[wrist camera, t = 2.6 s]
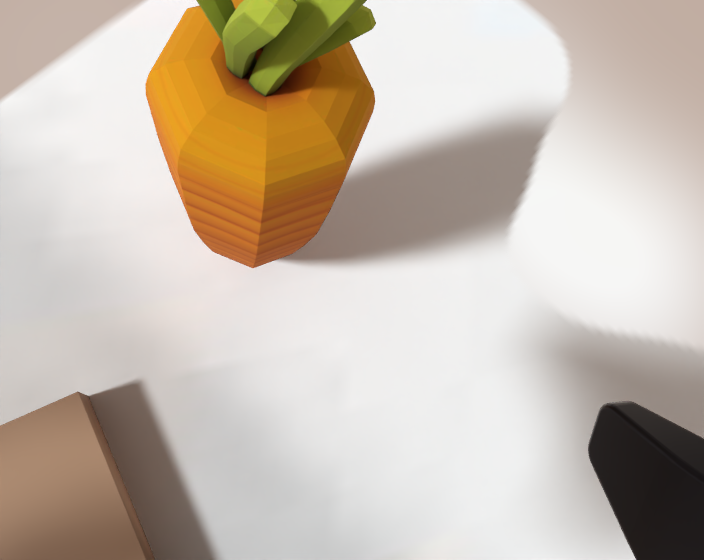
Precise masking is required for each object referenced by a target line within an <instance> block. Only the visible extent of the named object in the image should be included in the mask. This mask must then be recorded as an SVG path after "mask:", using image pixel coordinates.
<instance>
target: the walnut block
mask: <svg viewBox="0 0 704 560" xmlns="http://www.w3.org/2000/svg"><path fill="white" fill-rule="evenodd" d="M0 560H155V558H154V556H153V553H152V551H151V548H150V546H149V544H148V541H147V539H146V536H145V534H144V531H143V529H142V526H141V524H140V522H139V519H138V517H137V514H136V512H135V509H134V507H133V504H132V502H131V500H130V497H129V495H128V492H127V490H126V487H125V485H124V482H123V480H122V478H121V475H120V473H119V470H118V468H117V465H116V463H115V460H114V458H113V456H112V453H111V451H110V448H109V446H108V443H107V441H106V438H105V436H104V434H103V431H102V429H101V426H100V424H99V421H98V419H97V416H96V414H95V412H94V409H93V407H92V404H91V402H90V399H89V397H88V396H87V395H84V394H82V393H80V392H76V393H74V394H72V395H69V396H67V397H65V398H62V399H60V400H58V401H56V402H53V403H51V404H49V405H47V406H44V407H42V408H40V409H37V410H35V411H33V412H31V413H28V414H26V415H24V416H21V417H19V418H17V419H15V420H12V421H10V422H8V423H6V424H3V425H1V426H0Z"/></svg>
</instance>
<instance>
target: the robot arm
mask: <svg viewBox="0 0 704 560" xmlns="http://www.w3.org/2000/svg"><path fill="white" fill-rule="evenodd" d="M588 452H589V458H590V461H591V464H592V466H593V468H594V470H595V472H596V474H597V477H598V479H599V481H600V483H601V485H602V488H603V490H604V492H605V494H606V496H607V498H608V501H609V503H610V505H611V507H612V509H613V511H614V514H615V516H616V518H617V520H618V522H619V525H620V527H621V529H622V531H623V533H624V535H625V538H626V540H627V542H628V544H629V546H630V548H631V550H632V552H633V554H634V556H635V558H636V560H704V439H703V438H701V437H700V436H698V435H696V434H694V433H692V432H690V431H688V430H686V429H684V428H682V427H680V426H678V425H676V424H675V423H673V422H671V421H669V420H667V419H665V418H663V417H661V416H659V415H657V414H655V413H653V412H652V411H650V410H648V409H646V408H644V407H642V406H640V405H638V404H636V403H634V402H631V401H622V402H613V403H607V404H604V405H603V406H602V407H601V408H600V410H599V413H598V416H597V419H596V422H595V425H594V429H593V432H592V435H591V438H590V441H589V445H588Z"/></svg>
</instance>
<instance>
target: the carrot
mask: <svg viewBox="0 0 704 560" xmlns="http://www.w3.org/2000/svg"><path fill="white" fill-rule="evenodd" d="M197 2H198V3H199V5H200V6H196V7H192V8H188V9H187V10H186V11H185V13H184V15H183V16H182V18H181V20H180V22H179V23H178V25H177V27H176V28H175V30H174V32H173V34H172V35H171V37H170V39H169V40H168V42H167V44H166V46H165V47H164V49H163V51H162V52H161V54H160V56H159V58H158V59H157V61H156V63H155V64H154V66H153V68H152V70H151V71H150V73H149V75H148V78H147V82H146V97H147V100H148V103H149V107H150V110H151V114H152V117H153V121H154V124H155V128H156V131H157V135H158V138H159V141H160V144H161V147H162V150H163V152H164V155H165V158H166V161H167V164H168V167H169V170H170V172H171V175H172V177H173V180H174V182H175V185H176V187H177V189H178V192H179V194H180V197H181V199H182V202H183V204H184V207H185V209H186V211H187V214H188V216H189V219H190V221H191V224H192V226H193V229H194V231H195V232H196V233H197V235H198V236H199V237H200V238H201V240H202V241H203V242H204V243H205V244H206V245H207V246H208V247H209V248H210V249H211V250H212V251H213V252H215V253H217V254H220V255H222V256H225V257H227V258H229V259H232V260H234V261H237V262H239V263H242V264H244V265H246V266H249V267H251V268H255V267H258V266H260V265H263V264H266V263H268V262H271V261H274V260H277V259H279V258H282V257H285V256H287V255H290V254H293V253H294V252H295V251H297V250H298V249H300V248H301V247H303V246H304V245H305V244H306V243H307V242H308V241H309V240H311V239H312V238H313V237H314V236H315V235H316V234H317V232H318V231H319V229H320V227H321V225H322V223H323V222H324V220H325V218H326V216H327V215H328V213H329V211H330V209H331V207H332V205H333V203H334V201H335V198H336V196H337V194H338V192H339V190H340V188H341V186H342V184H343V181H344V179H345V177H346V174H347V172H348V170H349V167H350V165H351V163H352V160H353V158H354V155H355V153H356V151H357V148H358V146H359V143H360V141H361V139H362V136H363V134H364V132H365V129H366V127H367V124H368V122H369V120H370V117H371V115H372V113H373V109H374V105H375V97H374V91H373V89H372V87H371V85H370V83H369V81H368V78H367V76H366V74H365V72H364V70H363V68H362V66H361V64H360V62H359V60H358V58H357V56H356V54H355V52H354V50H353V48H352V46H351V44H350V42H349V41H351V40H353V39H355V38H357V37H359V36H360V35H362V34H364V33H366V32H368V31H370V30H371V29H373V27H374V26H375V24H376V22H375V19H374V17H373V14H372V12H371V10H370V9H368V8H367V7H365V6H363V4H364V3H365V2H366V0H197Z"/></svg>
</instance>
